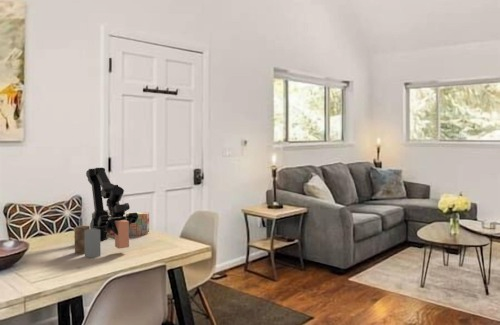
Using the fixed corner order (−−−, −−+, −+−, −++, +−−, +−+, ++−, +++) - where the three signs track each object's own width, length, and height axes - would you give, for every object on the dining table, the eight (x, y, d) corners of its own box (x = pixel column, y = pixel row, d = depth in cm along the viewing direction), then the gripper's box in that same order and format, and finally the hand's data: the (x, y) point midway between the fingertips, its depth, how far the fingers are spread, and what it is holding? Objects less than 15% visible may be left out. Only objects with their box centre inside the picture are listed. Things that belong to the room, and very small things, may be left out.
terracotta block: (115, 246, 210) (114, 220, 209) (125, 245, 213) (124, 219, 212) (118, 248, 206) (118, 222, 205) (129, 247, 209) (128, 221, 208)
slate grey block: (84, 256, 203) (84, 229, 203) (94, 254, 207) (94, 228, 206) (90, 258, 200) (90, 231, 199) (100, 255, 204) (100, 229, 203)
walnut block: (74, 253, 208) (74, 227, 207) (80, 250, 213) (79, 225, 212) (84, 253, 207) (84, 228, 207) (89, 251, 212) (89, 225, 212)
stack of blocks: (109, 234, 249) (109, 213, 248) (112, 232, 255) (112, 211, 255) (147, 234, 250) (147, 213, 249) (149, 232, 256) (149, 211, 255)
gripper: (99, 199, 206) (107, 226, 198) (136, 196, 217) (146, 221, 209) (94, 213, 212) (101, 240, 204) (130, 209, 224) (139, 234, 216)
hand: (122, 233), depth 208 cm, fingers closed on terracotta block, 5 cm apart
